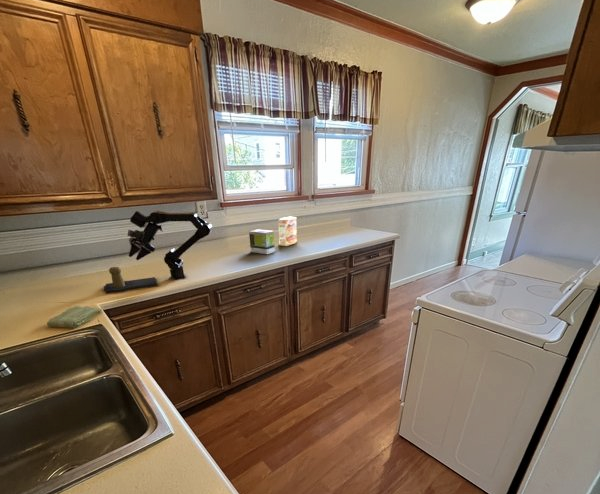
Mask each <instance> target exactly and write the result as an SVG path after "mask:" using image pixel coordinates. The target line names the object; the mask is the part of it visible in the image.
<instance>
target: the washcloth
mask: <svg viewBox="0 0 600 494" xmlns="http://www.w3.org/2000/svg"><path fill="white" fill-rule="evenodd" d="M102 310H103V309H102V308H99V307H95V306H94V307H93V306H87V305H86V306H85V305H84V306H81V305H76V306H73V307H70V308H68V309H66V310H65V311H62V312H61V313H59V314H58V315H55V316H53V317H52V318H49V320H48V321H47V322H46V326H47V327H48V328H68V329H69V328H70V329H74V328H75V329H76V328H78V327H79V326H81V325H83V324H87V322H88V321H90V320H91V319H93V318H94V317H96V316H97V315H98V314H99V313H101V311H102ZM83 321H84V322H83Z"/></svg>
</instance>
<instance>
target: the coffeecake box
mask: <svg viewBox="0 0 600 494" xmlns="http://www.w3.org/2000/svg"><path fill="white" fill-rule="evenodd" d="M297 218H298V217H296V216H286V217H282V218H281V217H280V218H278V243H279V244H278V245H279V246H282V247H288V246H291V245H293V244H297V241H298V240H297V239H298V238H297V237H298V236H297V234H298V233H297V232H298V231H297V230H298V229H297V228H298V226H297V222H298V221H297V220H298V219H297Z"/></svg>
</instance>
